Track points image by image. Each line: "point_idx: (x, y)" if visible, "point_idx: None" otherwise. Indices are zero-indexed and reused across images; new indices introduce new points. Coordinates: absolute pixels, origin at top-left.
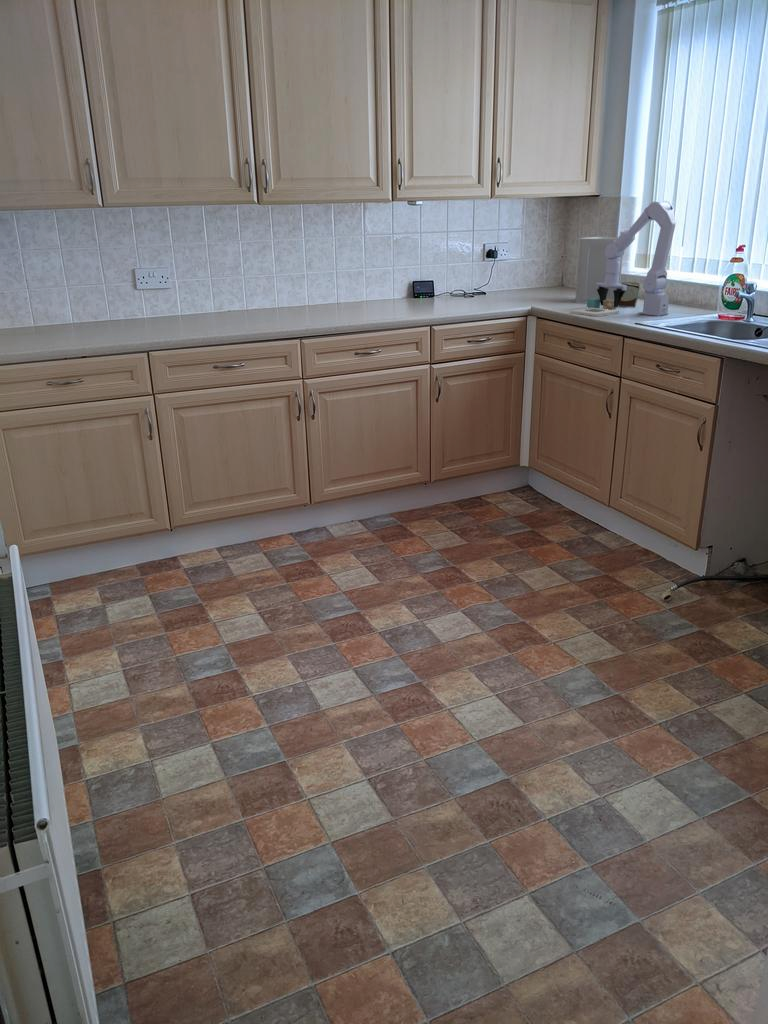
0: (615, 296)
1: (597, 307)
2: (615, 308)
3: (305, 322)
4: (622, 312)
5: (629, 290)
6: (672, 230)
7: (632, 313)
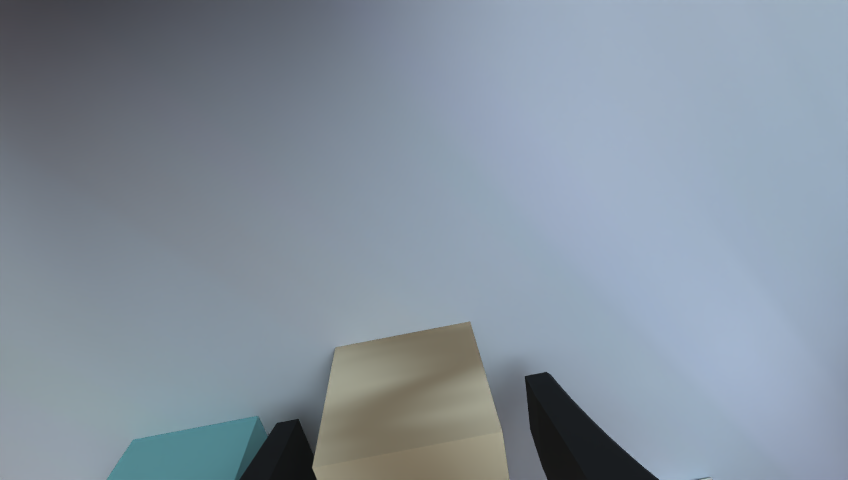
0: None
1: None
2: (474, 341)
3: None
4: (699, 407)
5: None
6: None
7: (835, 366)
